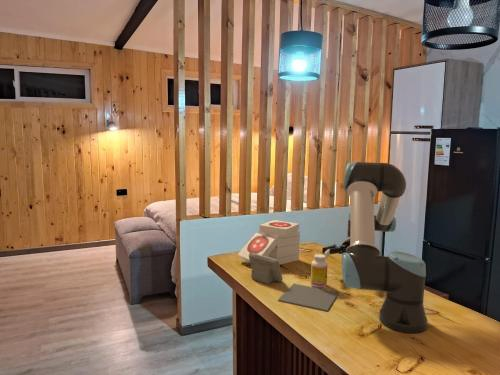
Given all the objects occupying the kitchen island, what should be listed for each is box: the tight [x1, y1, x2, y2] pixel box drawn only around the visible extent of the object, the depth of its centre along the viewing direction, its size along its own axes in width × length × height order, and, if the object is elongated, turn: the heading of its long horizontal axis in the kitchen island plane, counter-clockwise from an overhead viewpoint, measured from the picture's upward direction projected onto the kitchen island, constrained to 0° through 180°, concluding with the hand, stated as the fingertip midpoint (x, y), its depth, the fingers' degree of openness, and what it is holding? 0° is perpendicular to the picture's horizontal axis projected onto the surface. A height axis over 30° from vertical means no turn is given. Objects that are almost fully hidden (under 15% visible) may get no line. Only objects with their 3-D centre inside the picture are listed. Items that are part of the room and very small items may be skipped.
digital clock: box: [249, 253, 283, 285], centre depth 164 cm, size 16×9×11 cm, turn 39°
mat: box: [277, 283, 340, 312], centre depth 146 cm, size 18×19×1 cm
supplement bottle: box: [310, 253, 328, 289], centre depth 158 cm, size 7×7×13 cm
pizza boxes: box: [237, 219, 301, 265], centre depth 188 cm, size 19×30×18 cm, turn 127°
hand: (340, 258), depth 159 cm, fingers open, 13 cm apart
